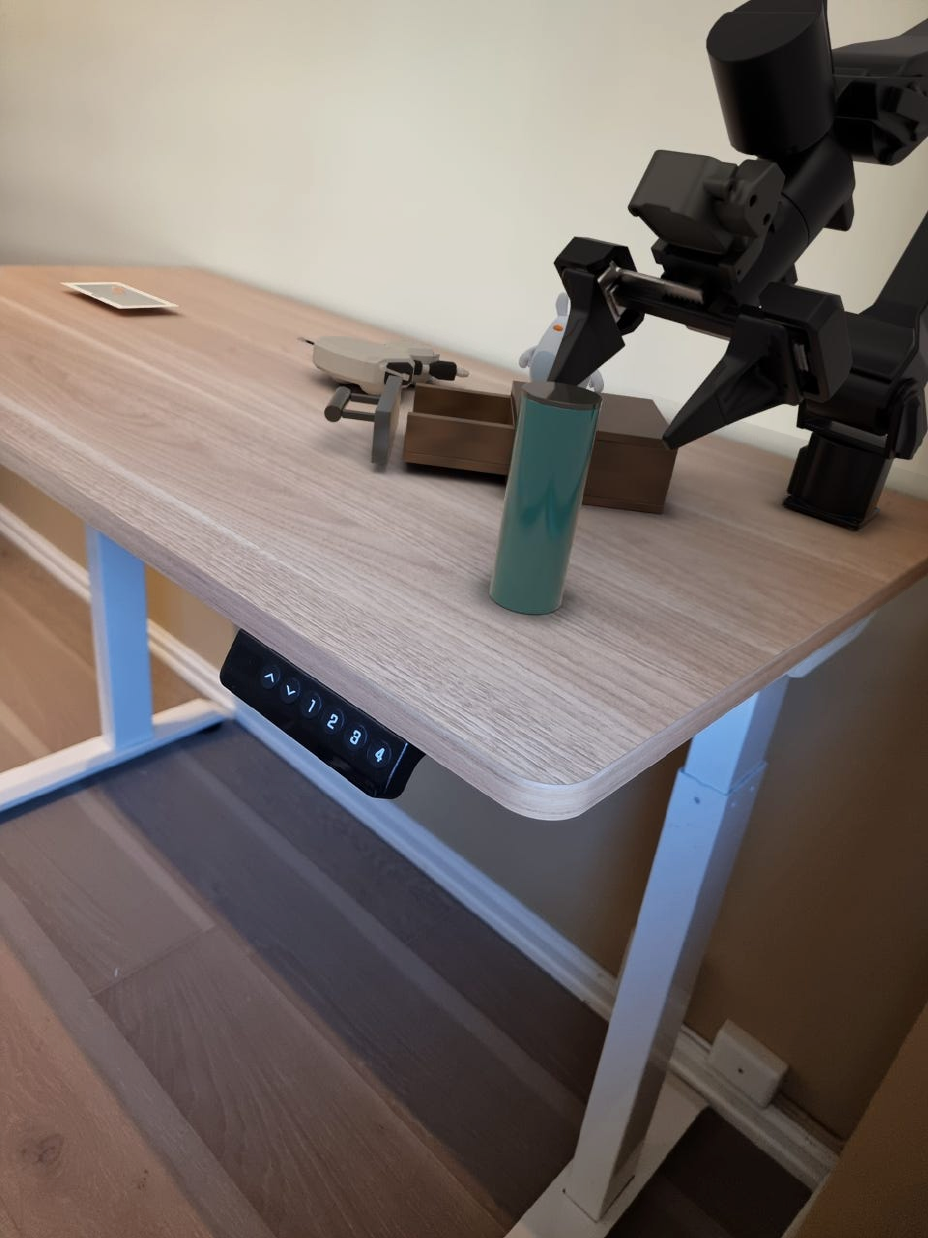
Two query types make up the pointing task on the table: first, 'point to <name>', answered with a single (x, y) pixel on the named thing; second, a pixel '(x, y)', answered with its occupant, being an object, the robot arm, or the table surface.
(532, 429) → the lidded cylindrical canister
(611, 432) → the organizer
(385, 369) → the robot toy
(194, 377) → the table surface
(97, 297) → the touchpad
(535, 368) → the toy figure
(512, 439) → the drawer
